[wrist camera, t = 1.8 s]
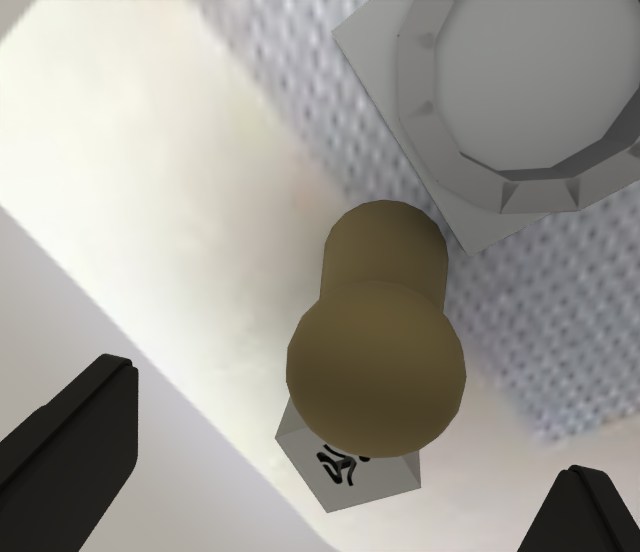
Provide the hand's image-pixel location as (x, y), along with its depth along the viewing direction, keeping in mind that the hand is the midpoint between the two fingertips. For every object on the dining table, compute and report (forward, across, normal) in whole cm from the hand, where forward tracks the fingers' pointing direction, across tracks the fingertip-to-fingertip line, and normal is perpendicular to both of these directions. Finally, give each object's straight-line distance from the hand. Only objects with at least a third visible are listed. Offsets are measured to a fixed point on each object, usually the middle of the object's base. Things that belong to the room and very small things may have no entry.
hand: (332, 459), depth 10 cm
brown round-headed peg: (+13, -1, 0) cm, 13 cm away
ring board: (+13, -5, -9) cm, 16 cm away
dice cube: (+13, -1, +8) cm, 16 cm away
